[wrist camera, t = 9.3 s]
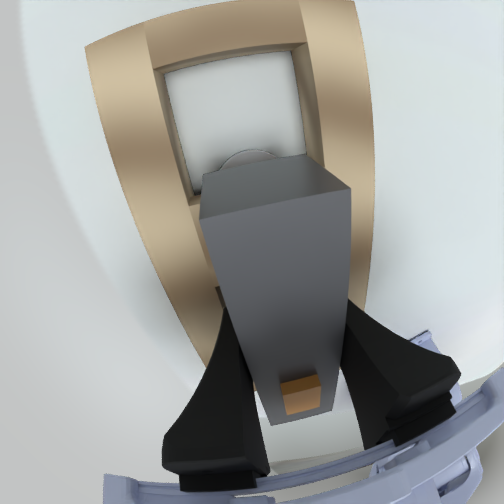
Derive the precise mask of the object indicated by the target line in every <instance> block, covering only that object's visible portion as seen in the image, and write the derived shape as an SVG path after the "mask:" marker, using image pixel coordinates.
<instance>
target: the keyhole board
mask: <svg viewBox="0 0 504 504" xmlns="http://www.w3.org/2000/svg"><path fill="white" fill-rule="evenodd" d="M279 51H291V53H292V58H293V64H294V69H295V75H296V81H297V87H298V93H299V99H300V106H301V113H302V120H303V127H304V135H305V143H306V151H307V156H309V157H310V158H311V159H313V160H314V161H316V162H317V163H318V164H320V165H321V166H322V167H324V168H325V169H326V170H328V171H329V172H331V173H332V174H333V175H335V176H336V177H337V178H338V179H340V180H341V181H342V182H344V183H345V184H346V185H347V186H349V187H350V188H351V256H350V275H349V290H348V299H350V300H351V301H352V302H353V303H354V304H355V305H356V306H358V307H359V308H360V309H361V310H363V311H364V308H365V301H366V294H367V287H368V279H369V270H370V261H371V250H372V237H373V222H374V196H375V155H374V130H373V115H372V103H371V93H370V84H369V76H368V69H367V62H366V56H365V50H364V44H363V39H362V33H361V29H360V24H359V19H358V15H357V11H356V7H355V3H354V1H351V0H236V1H229V2H222V3H216V4H210V5H205V6H200V7H195V8H191V9H187V10H183V11H179V12H175V13H171V14H167V15H164V16H161V17H157V18H154V19H151V20H148V21H145V22H142V23H139V24H136V25H134V26H131V27H128V28H126V29H123V30H121V31H118V32H116V33H113V34H111V35H109V36H106V37H104V38H102V39H100V40H98V41H95V42H93V43H91V44H89V45H87V46H85V53H86V58H87V64H88V69H89V74H90V78H91V83H92V87H93V92H94V96H95V100H96V104H97V108H98V112H99V116H100V120H101V123H102V127H103V130H104V134H105V137H106V141H107V144H108V147H109V151H110V154H111V157H112V160H113V163H114V166H115V169H116V172H117V175H118V178H119V181H120V184H121V187H122V189H123V192H124V195H125V198H126V200H127V203H128V206H129V208H130V211H131V214H132V216H133V219H134V221H135V224H136V226H137V229H138V231H139V234H140V236H141V238H142V241H143V243H144V245H145V248H146V250H147V252H148V255H149V257H150V259H151V262H152V264H153V266H154V268H155V270H156V273H157V275H158V277H159V279H160V281H161V283H162V285H163V288H164V290H165V292H166V294H167V296H168V298H169V300H170V302H171V304H172V306H173V308H174V310H175V312H176V314H177V316H178V318H179V320H180V322H181V323H182V325H183V327H184V329H185V331H186V333H187V335H188V337H189V338H190V340H191V342H192V344H193V346H194V347H195V349H196V351H197V353H198V355H199V356H200V358H201V360H202V362H203V363H204V365H205V367H206V368H207V366H208V363H209V361H210V358H211V355H212V352H213V350H214V347H215V343H216V340H217V336H218V333H219V329H220V325H221V320H222V315H223V309H224V307H225V306H226V304H225V301H224V298H223V295H222V292H221V289H220V286H219V283H218V280H217V277H216V274H215V270H214V267H213V264H212V261H211V258H210V255H209V252H208V248H207V245H206V242H205V239H204V236H203V232H202V229H201V226H200V222H199V211H200V200H201V195H197V196H195V195H194V192H193V188H192V185H191V181H190V177H189V174H188V170H187V166H186V163H185V159H184V155H183V151H182V148H181V144H180V140H179V136H178V132H177V128H176V124H175V120H174V116H173V112H172V108H171V104H170V100H169V95H168V91H167V87H166V82H165V78H164V74H165V73H168V72H171V71H175V70H178V69H182V68H186V67H190V66H194V65H198V64H202V63H207V62H211V61H216V60H221V59H227V58H232V57H238V56H245V55H252V54H260V53H269V52H279ZM340 369H341V368H339V370H340ZM253 385H254V391H257V389H256V387H255V384H254V381H253Z"/></svg>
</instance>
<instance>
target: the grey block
mask: <svg viewBox="0 0 504 504" xmlns="http://www.w3.org/2000/svg"><path fill="white" fill-rule="evenodd" d="M199 222H200V226H201V229H202V232H203V236H204V239H205V242H206V245H207V248H208V252H209V255H210V258H211V261H212V264H213V267H214V270H215V274H216V277H217V280H218V283H219V286H220V289H221V292H222V295H223V298H224V301H225V304H226V307H227V309H228V312H229V315H230V318H231V321H232V324H233V327H234V330H235V332H236V335H237V338H238V341H239V344H240V346H241V349H242V352H243V355H244V357H245V360H246V363H247V366H248V368H249V371H250V374H251V376H252V379H253V381H254V384H255V387H256V389H257V392H258V395H259V397H260V400H261V402H262V405H263V407H264V410H265V412H266V415H267V417H268V420H269V422H270V425H271V426H273V425H278V424H282V423H287V422H291V421H295V420H299V419H303V418H307V417H311V416H315V415H318V414H322V413H325V412H328V411H332V408H333V403H334V397H335V392H336V386H337V381H338V375H339V368H340V362H341V355H342V347H343V340H344V332H345V323H346V313H347V302H348V290H349V275H350V256H351V188H350V187H349V186H347V185H346V184H345V183H344V182H342V181H341V180H340V179H338V178H337V177H336V176H335V175H333V174H332V173H331V172H329V171H328V170H326V169H325V168H324V167H322V166H321V165H320V164H318V163H317V162H316V161H314V160H313V159H311V158H310V157H309V156H307V155H306V154H302V155H295V156H289V157H283V158H277V157H276V156H274V155H272V154H271V153H268V152H266V151H262V150H246V151H242V152H239V153H237V154H235V155H233V156H232V157H230V158H229V159H228V160H227V161H226V162H225V163H224V164H223V165H222V167H221V168H220V170H219V171H215V172H211V173H207V174H203V180H202V190H201V200H200V211H199Z"/></svg>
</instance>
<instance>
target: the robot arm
mask: <svg viewBox="0 0 504 504" xmlns="http://www.w3.org/2000/svg"><path fill="white" fill-rule="evenodd" d="M431 335H432V334H431V332H430V331H428V332H426V333H424V334H422V335H421V336H419V337H417V338H415V339H414V340H412V341H408V340H406V339H404V338H402V337H400V336H399V335H397V334H395V333H394V332H392V331H390V330H389V329H387V328H386V327H384V326H383V325H381V324H380V323H378V322H377V321H375V320H374V319H373V318H371V317H370V316H369V315H368V314H366V313H365V312H364V311H363V310H361V309H360V308H359V307H358V306H356V305H355V304H354V303H353V302H352V301H351V300H350V299H348V302H347V313H346V323H345V332H344V340H343V347H342V355H341V362H340V368H341V370H342V372H343V375H344V377H345V380H346V383H347V386H348V389H349V392H350V395H351V399H352V402H353V405H354V409H355V412H356V416H357V420H358V424H359V428H360V432H361V436H362V440H363V446H364V450H365V451H362V452H359V453H357V454H354V455H351V456H348V457H345V458H342V459H339V460H336V461H333V462H329V463H326V464H322V465H319V466H315V467H311V468H307V469H303V470H299V471H294V472H290V473H285V474H280V475H274V476H269V477H267V475H268V474H269V473H270V467H269V463H268V459H267V454H266V450H265V445H264V441H263V437H262V432H261V427H260V422H259V417H258V412H257V407H256V402H255V395H254V385H253V379H252V376H251V374H250V371H249V368H248V366H247V363H246V360H245V357H244V355H243V352H242V349H241V346H240V344H239V341H238V338H237V335H236V332H235V330H234V327H233V324H232V321H231V318H230V315H229V312H228V309H227V307H226V306H225V307H224V309H223V315H222V320H221V325H220V329H219V333H218V336H217V340H216V343H215V347H214V350H213V352H212V355H211V358H210V361H209V363H208V366H207V368H206V370H205V373H204V375H203V377H202V379H201V381H200V383H199V385H198V387H197V389H196V391H195V393H194V394H193V396H192V398H191V399H190V401H189V403H188V404H187V406H186V407H185V409H184V410H183V412H182V413H181V415H180V416H179V418H178V419H177V420H176V422H175V423H174V424H173V425H172V427H171V428H170V429H169V430H168V432H167V433H166V434H165V435H164V439H163V446H162V466H163V468H164V469H166V470H168V471H170V472H173V473H176V474H178V475H179V483H158V482H157V483H156V482H144V481H137V480H136V479H133V478H130V477H125V476H118V475H111V474H104V484H103V486H104V487H103V504H466V502H467V501H468V500H469V498H470V497H471V495H472V494H473V492H474V491H475V489H476V488H477V486H478V485H479V483H480V481H481V480H482V473H483V468H482V466H481V463H480V461H479V459H480V457H479V454H478V451H477V449H476V446H477V445H478V444H480V443H481V442H482V441H483V440H484V439H485V438H487V437H488V436H489V435H490V434H491V433H492V432H493V431H494V430H495V429H497V428H498V427H499V426H500V425H501V424H502V423H503V422H504V368H503V367H502V368H501V369H499V370H498V371H497V372H496V373H494V374H493V375H492V376H491V377H489V378H488V379H487V380H486V381H485V382H484V383H483V384H482V386H481V387H480V388H479V389H478V390H476V391H475V392H474V393H472V394H471V395H469V396H468V397H467V398H465V399H464V400H462V395H461V390H460V387H459V384H458V382H457V381H458V380H459V378H460V376H461V372H460V370H459V369H458V367H457V365H456V364H455V362H454V361H453V360H452V358H451V357H449V356H446V355H442V354H441V353H440V351H439V350H438V348H437V347H436V345H435V344H434V342H433V341H432V339H431ZM465 455H466V457H465ZM466 458H467V460H466ZM374 462H375V463H374ZM372 463H374V464H373V466H372V469H371V471H370V474H369V478H366V479H363V480H361V481H358V482H355V483H352V484H349V485H346V486H343V487H340V488H337V489H333V490H330V491H327V492H323V493H320V494H316V495H312V496H308V497H304V498H299V499H295V500H290V501H286V502H280V503H275V498H273V497H268V496H266V495H263V496H252V497H238V498H236V497H234V496H237V495H247V494H256V493H262V492H269V491H275V490H281V489H286V488H291V487H296V486H300V485H305V484H309V483H313V482H317V481H320V480H324V479H328V478H331V477H334V476H338V475H341V474H344V473H347V472H350V471H353V470H356V469H358V468H361V467H364V466H366V465H369V464H372Z"/></svg>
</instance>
